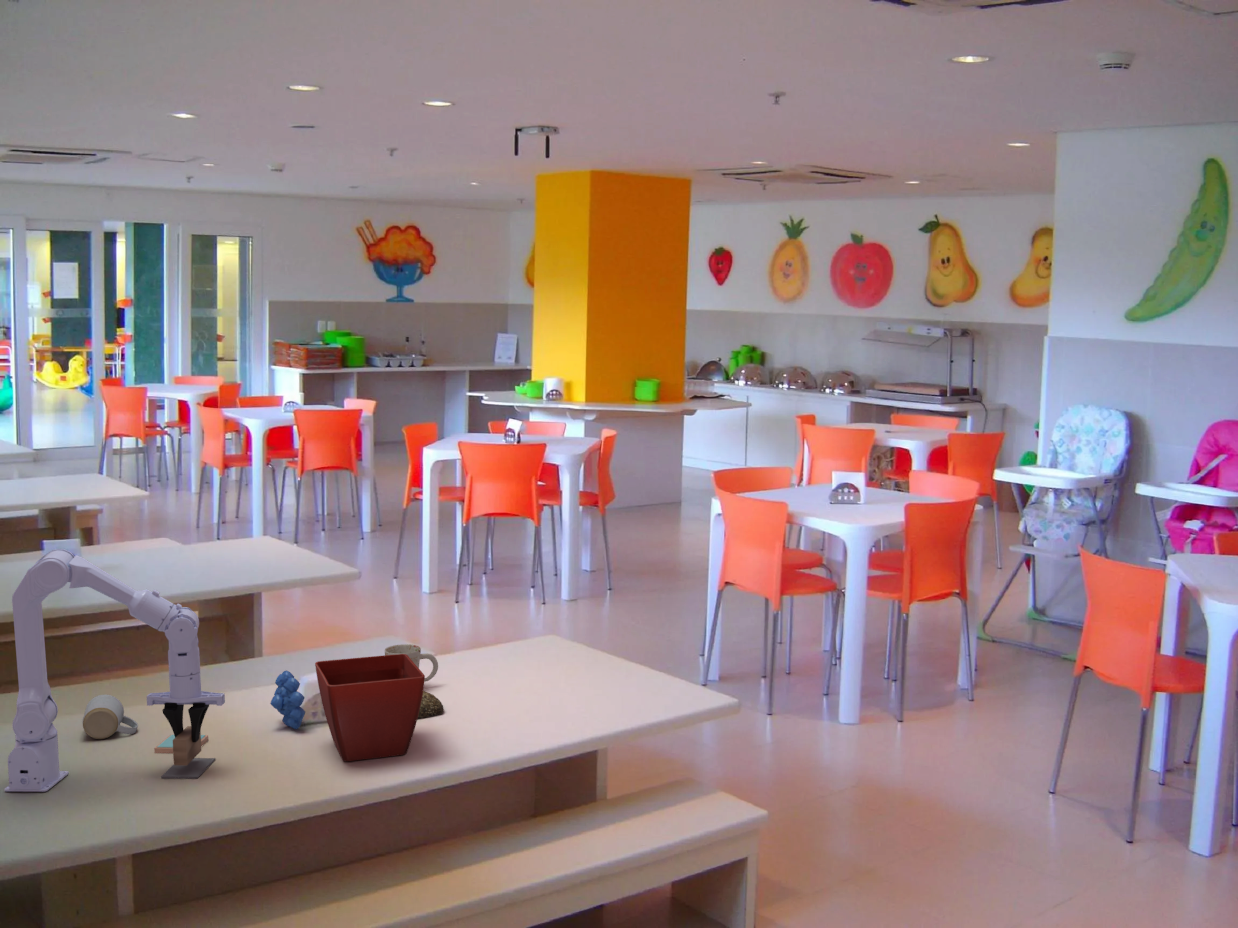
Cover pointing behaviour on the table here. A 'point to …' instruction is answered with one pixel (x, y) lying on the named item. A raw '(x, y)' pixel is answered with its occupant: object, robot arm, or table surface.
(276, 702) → the grapes
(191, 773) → the mat
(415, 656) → the mug
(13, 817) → the table surface
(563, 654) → the table surface
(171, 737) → the picture frame
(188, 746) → the bronze rectangular prism
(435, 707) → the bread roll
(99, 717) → the ceramic mug
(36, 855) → the table surface
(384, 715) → the plant pot
